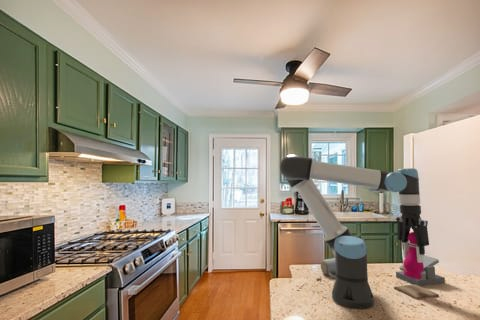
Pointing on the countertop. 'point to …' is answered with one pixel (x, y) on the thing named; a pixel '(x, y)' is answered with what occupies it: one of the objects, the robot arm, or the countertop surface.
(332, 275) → the ceramic mug
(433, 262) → the breaker rocker
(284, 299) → the countertop surface
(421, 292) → the coaster
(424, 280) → the switch housing
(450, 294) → the countertop surface
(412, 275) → the pepper mill
